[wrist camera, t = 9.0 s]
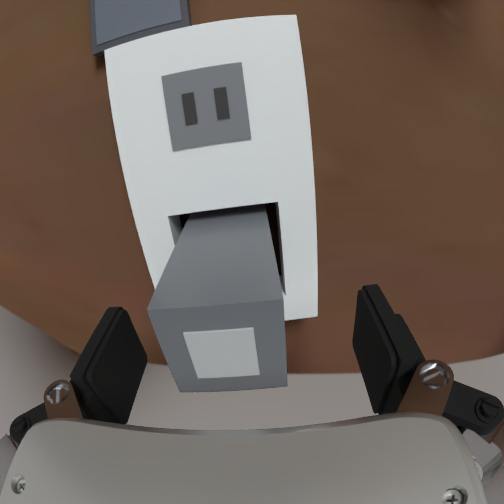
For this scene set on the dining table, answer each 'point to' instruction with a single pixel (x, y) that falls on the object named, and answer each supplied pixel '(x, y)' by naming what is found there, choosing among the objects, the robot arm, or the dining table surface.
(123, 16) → the phone
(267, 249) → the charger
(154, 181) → the outlet plate
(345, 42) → the dining table surface
